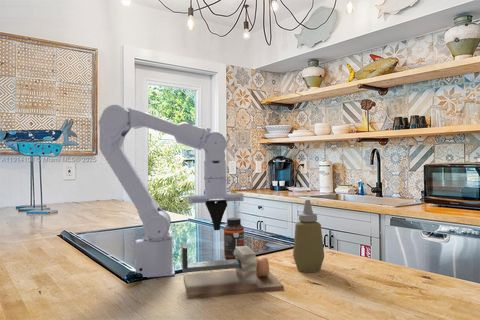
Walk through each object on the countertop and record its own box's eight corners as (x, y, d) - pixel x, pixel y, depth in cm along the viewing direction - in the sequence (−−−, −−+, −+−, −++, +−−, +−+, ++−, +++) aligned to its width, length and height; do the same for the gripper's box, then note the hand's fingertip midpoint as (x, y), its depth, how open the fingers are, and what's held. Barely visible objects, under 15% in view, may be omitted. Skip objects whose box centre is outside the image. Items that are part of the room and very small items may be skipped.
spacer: (258, 257, 87) (267, 256, 88) (253, 258, 91) (263, 257, 92) (260, 277, 86) (269, 276, 87) (255, 277, 90) (264, 276, 91)
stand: (188, 298, 78) (187, 262, 78) (183, 277, 91) (182, 247, 91) (283, 289, 82) (283, 255, 82) (265, 270, 96) (265, 241, 96)
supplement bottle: (242, 259, 107) (241, 220, 107) (222, 258, 108) (221, 220, 108) (246, 254, 113) (245, 217, 113) (226, 253, 114) (226, 216, 114)
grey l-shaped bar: (183, 273, 82) (182, 248, 82) (181, 266, 87) (181, 243, 87) (249, 267, 85) (248, 243, 85) (244, 261, 90) (244, 239, 90)
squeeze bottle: (327, 267, 98) (326, 198, 98) (320, 276, 91) (319, 202, 91) (298, 263, 102) (296, 198, 102) (289, 272, 94) (287, 201, 94)
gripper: (188, 179, 93) (190, 234, 93) (245, 177, 96) (247, 230, 96) (186, 178, 100) (188, 229, 100) (239, 176, 103) (241, 225, 103)
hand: (216, 229), depth 98 cm, fingers closed
